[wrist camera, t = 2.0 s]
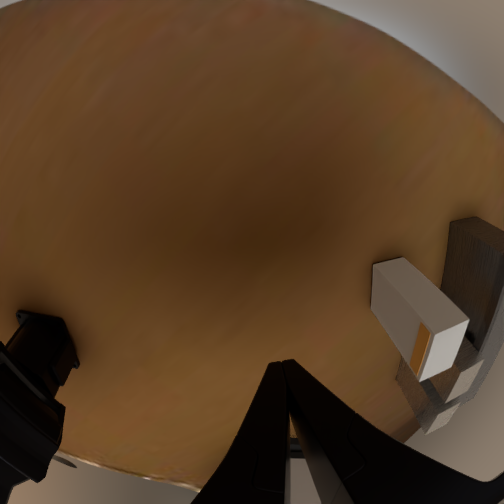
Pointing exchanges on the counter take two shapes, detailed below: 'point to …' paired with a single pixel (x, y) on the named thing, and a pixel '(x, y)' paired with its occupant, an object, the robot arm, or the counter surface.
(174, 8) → the counter surface
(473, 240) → the box
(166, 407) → the counter surface
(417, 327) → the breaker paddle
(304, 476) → the lantern
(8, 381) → the robot arm
